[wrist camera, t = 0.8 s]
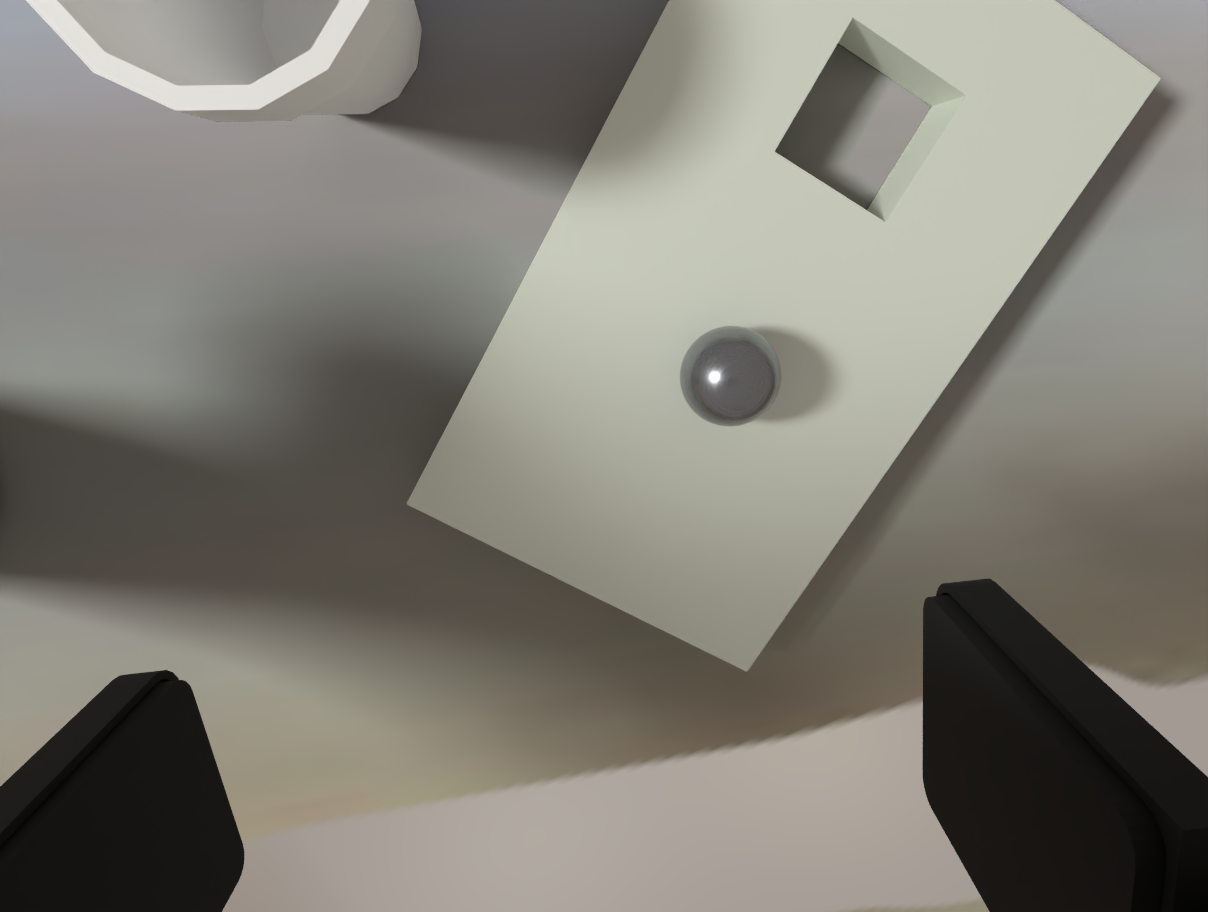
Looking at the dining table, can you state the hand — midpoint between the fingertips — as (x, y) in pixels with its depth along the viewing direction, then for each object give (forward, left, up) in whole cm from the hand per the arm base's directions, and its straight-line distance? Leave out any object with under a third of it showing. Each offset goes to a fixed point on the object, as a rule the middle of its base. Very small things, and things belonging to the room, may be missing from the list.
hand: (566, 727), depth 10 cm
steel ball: (+3, -5, -22) cm, 23 cm away
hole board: (+6, -5, -27) cm, 28 cm away
